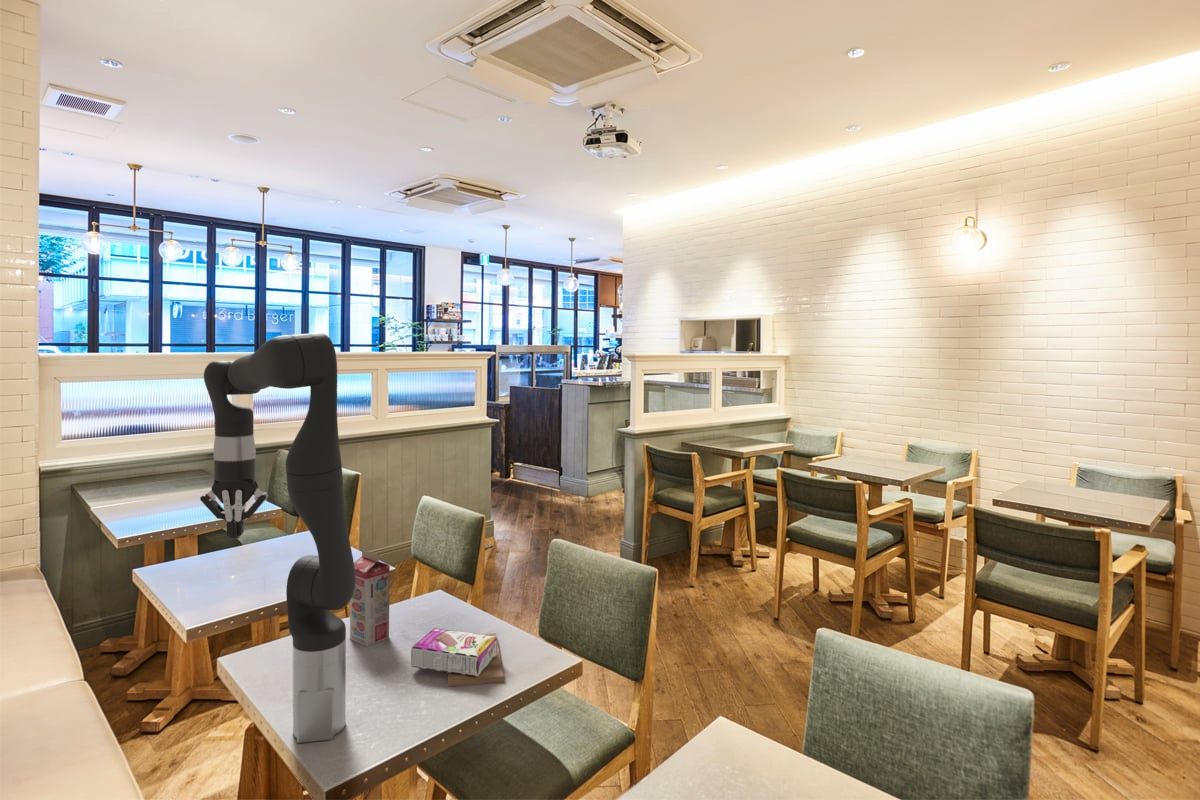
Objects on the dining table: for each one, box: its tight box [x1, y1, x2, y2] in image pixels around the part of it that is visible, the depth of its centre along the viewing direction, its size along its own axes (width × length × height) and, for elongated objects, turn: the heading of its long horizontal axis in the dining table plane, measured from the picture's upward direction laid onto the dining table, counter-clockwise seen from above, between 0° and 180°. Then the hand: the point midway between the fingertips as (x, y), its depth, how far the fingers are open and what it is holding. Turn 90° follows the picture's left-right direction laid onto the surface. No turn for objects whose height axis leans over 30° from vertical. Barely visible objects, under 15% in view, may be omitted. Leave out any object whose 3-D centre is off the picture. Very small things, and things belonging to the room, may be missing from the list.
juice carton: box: [349, 549, 391, 648], centre depth 160 cm, size 7×7×22 cm
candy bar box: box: [410, 627, 498, 677], centre depth 148 cm, size 11×5×16 cm
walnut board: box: [447, 632, 505, 687], centre depth 151 cm, size 22×12×1 cm, turn 14°
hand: (235, 537), depth 135 cm, fingers closed
